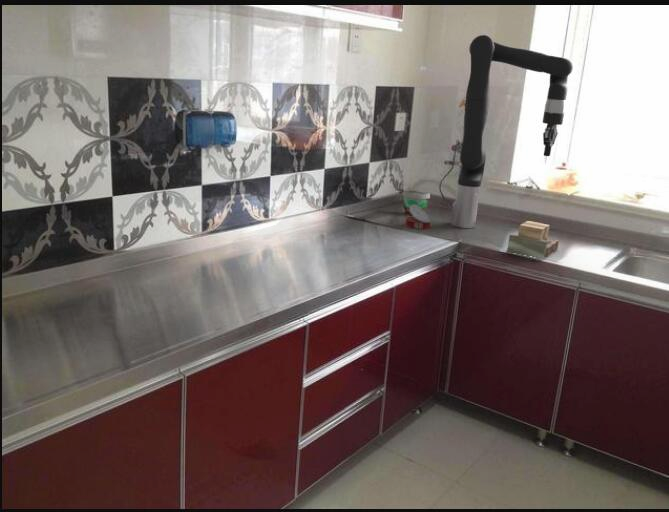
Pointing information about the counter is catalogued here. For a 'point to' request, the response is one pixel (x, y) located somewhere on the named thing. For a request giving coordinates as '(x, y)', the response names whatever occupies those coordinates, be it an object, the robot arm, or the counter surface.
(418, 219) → the canned food
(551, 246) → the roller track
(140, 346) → the counter surface
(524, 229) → the cardboard box
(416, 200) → the food container
